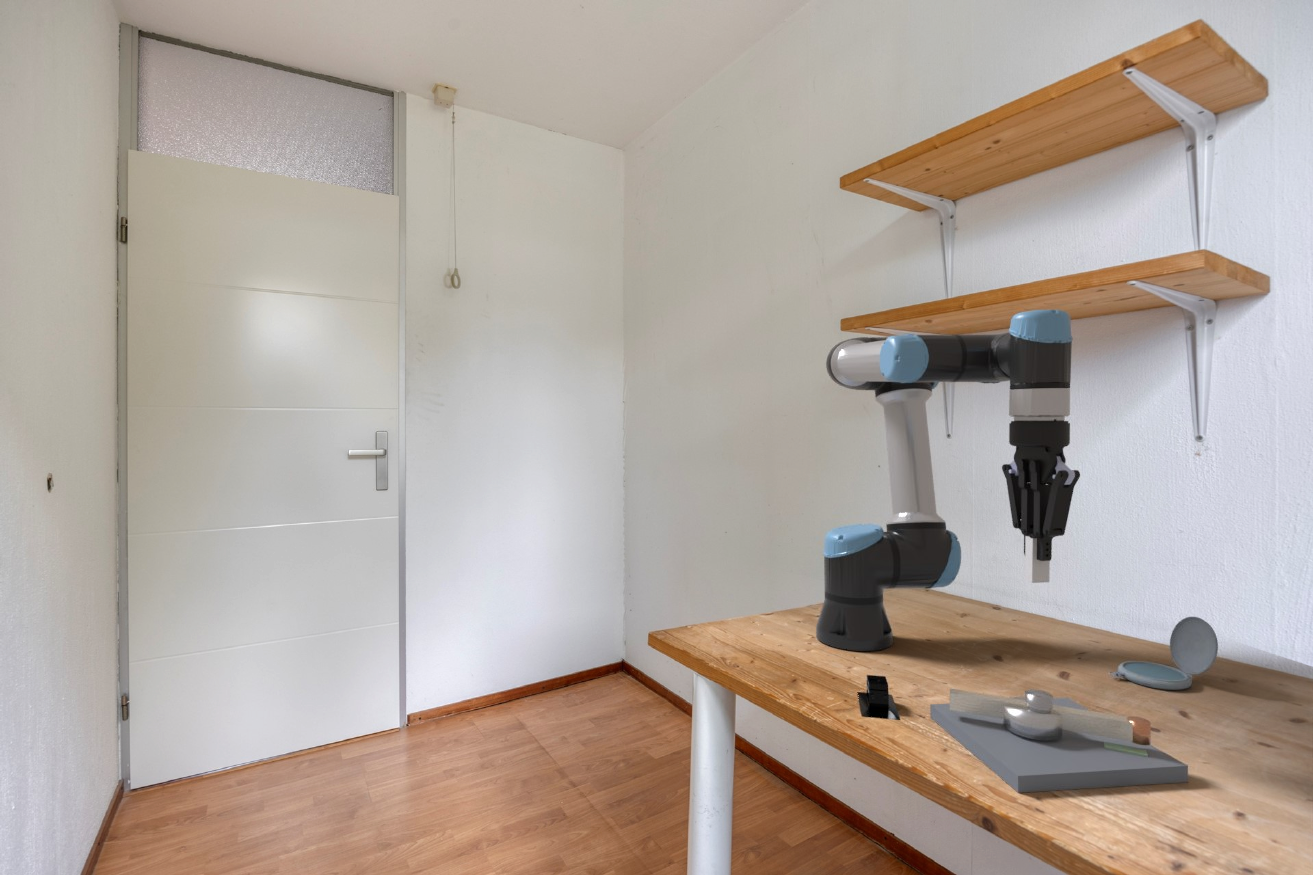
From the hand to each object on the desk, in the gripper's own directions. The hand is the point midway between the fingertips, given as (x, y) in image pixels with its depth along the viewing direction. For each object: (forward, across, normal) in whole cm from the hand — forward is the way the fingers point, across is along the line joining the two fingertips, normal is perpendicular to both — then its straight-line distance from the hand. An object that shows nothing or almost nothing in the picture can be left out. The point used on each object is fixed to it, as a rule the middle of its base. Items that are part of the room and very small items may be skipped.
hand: (1037, 581), depth 92 cm
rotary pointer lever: (+19, -6, +4) cm, 20 cm away
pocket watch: (+22, +12, -32) cm, 41 cm away
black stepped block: (+22, +9, +20) cm, 31 cm away
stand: (+21, -6, +3) cm, 22 cm away
